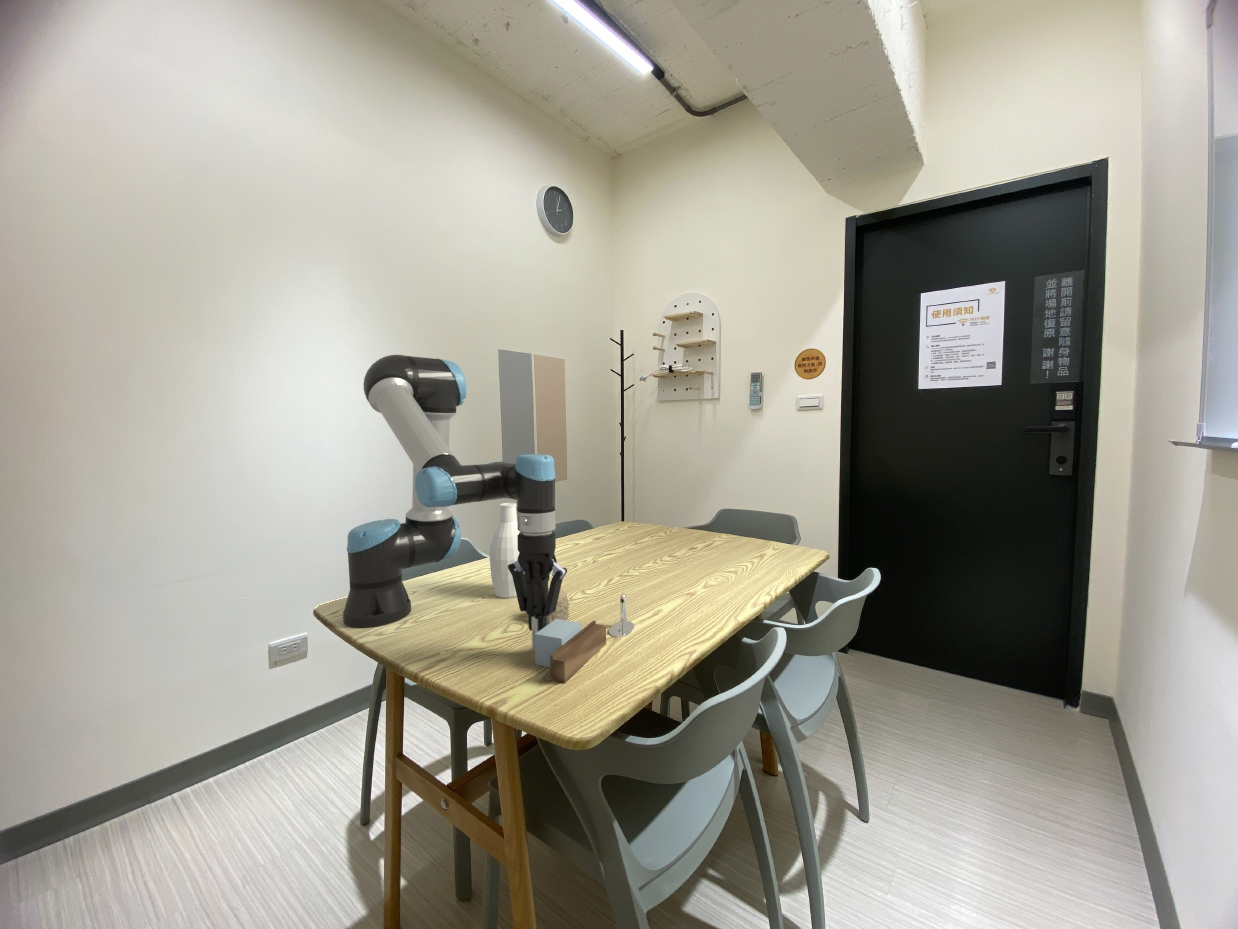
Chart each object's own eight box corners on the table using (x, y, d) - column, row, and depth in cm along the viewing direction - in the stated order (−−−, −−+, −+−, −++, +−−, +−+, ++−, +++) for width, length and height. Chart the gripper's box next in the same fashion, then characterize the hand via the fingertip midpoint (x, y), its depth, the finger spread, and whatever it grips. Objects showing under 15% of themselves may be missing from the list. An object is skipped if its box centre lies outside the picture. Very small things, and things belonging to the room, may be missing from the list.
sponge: (549, 642, 110) (572, 609, 108) (517, 617, 111) (539, 584, 109) (562, 626, 119) (583, 595, 117) (532, 603, 120) (552, 572, 118)
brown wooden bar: (550, 680, 85) (549, 655, 85) (593, 641, 101) (593, 620, 100) (564, 683, 84) (564, 658, 84) (606, 644, 99) (605, 622, 99)
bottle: (503, 603, 125) (499, 508, 123) (483, 593, 133) (480, 504, 131) (538, 593, 132) (536, 503, 131) (518, 584, 140) (515, 499, 139)
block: (535, 664, 91) (534, 634, 91) (556, 647, 99) (556, 619, 98) (562, 669, 89) (561, 638, 88) (582, 651, 96) (581, 623, 96)
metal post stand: (605, 636, 104) (616, 622, 111) (627, 638, 102) (636, 624, 110) (604, 602, 103) (616, 590, 111) (626, 604, 102) (636, 592, 109)
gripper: (498, 532, 93) (501, 648, 95) (553, 538, 88) (554, 660, 90) (521, 525, 100) (523, 633, 102) (573, 530, 95) (574, 644, 96)
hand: (538, 646), depth 96 cm, fingers closed
